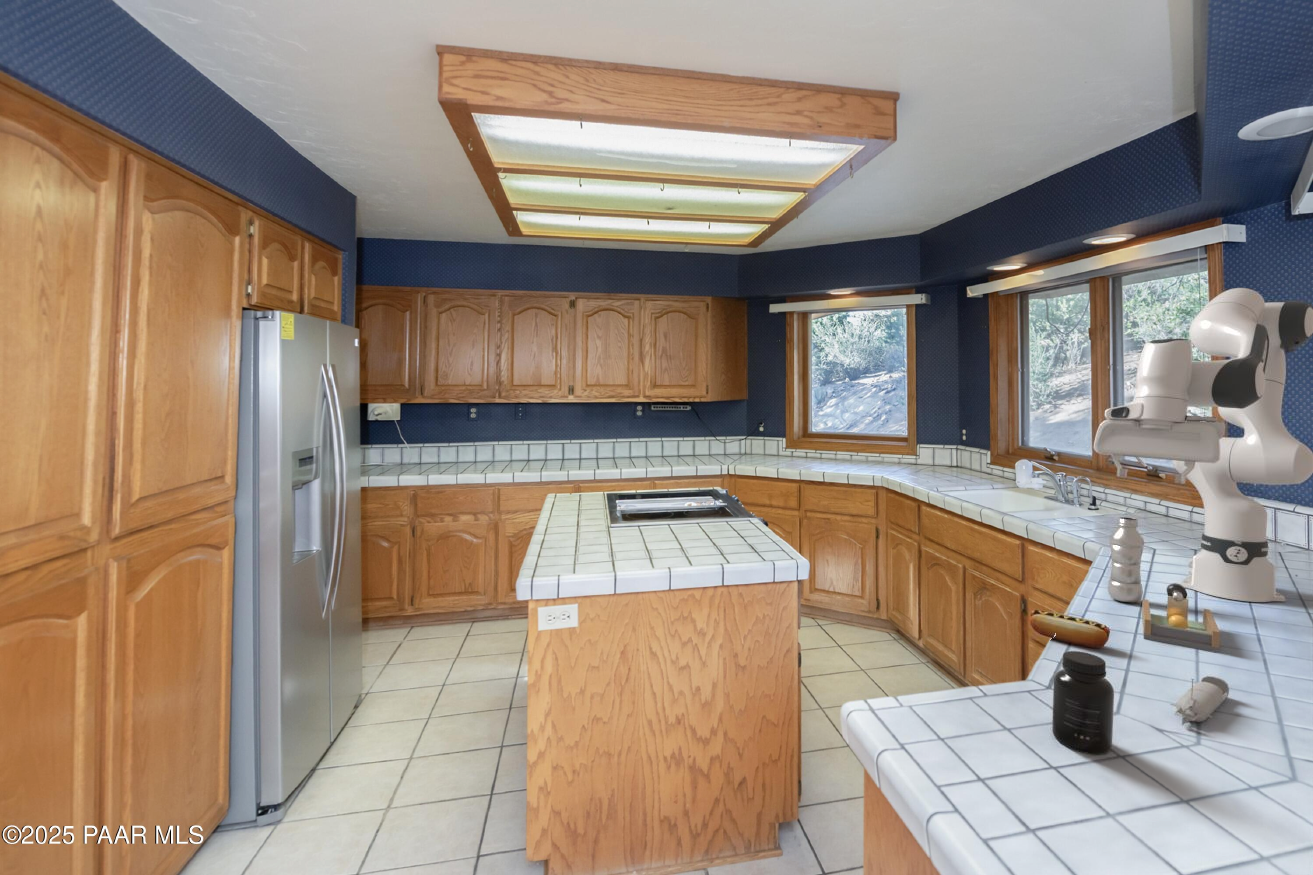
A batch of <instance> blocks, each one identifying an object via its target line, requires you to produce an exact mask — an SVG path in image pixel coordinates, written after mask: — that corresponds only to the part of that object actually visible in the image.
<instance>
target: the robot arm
mask: <svg viewBox="0 0 1313 875" xmlns="http://www.w3.org/2000/svg"><path fill="white" fill-rule="evenodd" d="M1188 334H1189V335H1188V336H1189V339H1190V340H1189V339H1187V338H1178V337H1177V338H1162V339H1153V340H1150V341H1148V342H1146V343H1144V346H1143V348H1142V351H1141V354H1140V357H1139V361H1138V365H1137V371H1136V376H1135V381H1136V386H1137V387H1136V392H1135V393H1134V396H1133V399H1132V400H1133V401H1132V403H1129V404H1125V405H1120V406H1115V407H1109V408H1106V410H1105V411H1104V417H1105V420H1103V421H1102V422H1101V423H1100V424H1099V425H1098V427H1097V430H1096V434H1095V438H1094V442H1093V449H1094V451H1095V452H1096V453H1097V454H1099V455H1106V456H1108V455H1109V456H1112V461H1113V463H1114V465H1115V467H1116V468H1117V470H1116V477H1119V478H1127V476H1128V470H1129V469H1127V468H1123V466H1122V464H1121V462H1122V461H1123V459H1124V458H1123V457H1128V458H1129V457H1130V458H1131V457H1132V458H1140V459H1141V458H1142V459H1152V460H1153V459H1154V460H1156V459H1157V460H1167V461H1171V463H1172V465H1173V467H1174V468H1175V470H1176V471H1177V472H1178V473H1175V475H1174V483H1175V484H1183V485H1184V484H1186V479H1187V480H1188V481H1190V482H1191V483H1192V485H1193V486H1194V488H1196V491H1198V493H1199V496H1200V497H1201V500H1202V504H1203V511H1204V512H1203V513H1204V526H1203V527H1204V529H1203V530H1204V531H1203V532H1204V533H1202V534H1201V538H1200V549H1201V550H1200V551H1199V552H1198V553H1196V554H1195V555H1194V556H1193V557H1192V558H1189V559H1188V568H1189V569H1190V570H1189V573H1188V575H1186V576H1185V578H1184V579H1182V581H1181V583H1180V585H1182V586H1183V587H1184V588H1185V589H1189V590H1190V589H1191V590H1193V591H1197V592H1200V593H1203V594H1206V595H1210V596H1212V597H1213V596H1214V597H1218V598H1223V599H1228V600H1234V601H1240V602H1241V601H1242V602H1250V603H1251V602H1253V603H1267V602H1286V597H1285V596H1284V595H1283V594H1281V593H1279V592H1277V590H1276V585H1277V584H1276V581H1277V580H1276V579H1277V578H1276V574H1277V573H1276V570H1277V569H1276V565H1274V564H1273V563H1272V562H1271V561H1270V560H1269V559H1268V558H1267V557H1268V554H1269V542H1268V540H1267V526H1268V525H1267V524H1268V512H1267V510H1266V508H1265V507H1264V505H1262V504H1261V503H1260V502H1258V501H1257V500H1255V499H1253V498H1251V497H1248V496H1247V495H1244V494H1243V493H1242V492H1241V491H1240V490H1239V487H1238V485H1237V483H1242V484H1243V483H1245V484H1253V485H1254V484H1255V485H1256V484H1257V485H1269V486H1282V485H1283V486H1284V485H1299V484H1302V483H1304V482H1305V481H1307V480H1308V479H1309V478H1311V476H1312V475H1313V451H1312V449H1310V448H1309V447H1308V446H1307V445H1305V444H1304V443H1302V442H1301V441H1299V439H1297V438H1295V437H1294V436H1293V435H1292V434H1291V433H1290V432H1289V431H1288V430H1287V428H1286V427H1285V424H1284V422H1283V418H1282V405H1283V397H1284V390H1285V387H1286V386H1285V385H1286V377H1287V369H1286V368H1287V365H1286V364H1287V362H1286V354H1287V355H1288V354H1291V353H1293V352H1295V350H1296V348H1298V347H1300V346H1303V345H1304V344H1305V343H1306V342H1308V341H1309V340H1310V338H1312V337H1313V305H1311V303H1308V302H1307V301H1302V300H1286V301H1285V302H1284V301H1283V302H1281V301H1279V302H1278V301H1276V302H1274V301H1272V302H1265V299H1264V297H1263V296H1262V295H1261V294H1260V293H1259V292H1258V291H1255V290H1254V289H1250V288H1246V287H1237V288H1236V287H1234V288H1230V289H1228V290H1225V291H1223V292H1221V293H1220V294H1217V296H1215V297H1214V298H1212V299H1211V300H1209V301H1208V303H1206V304H1205V305H1204V307H1203V308H1202V309H1201V310H1200V311H1199V312H1198V313H1197V315H1196V316H1195V317H1194V319H1193V320H1192V322H1191V324H1190V327H1189V330H1188ZM1193 346H1194V347H1195V348H1196V349H1198V350H1199V351H1200V352H1202V353H1204V354H1206V355H1209V356H1213V357H1227V358H1228V357H1229V358H1230V359H1222V360H1219V359H1218V360H1202V361H1201V360H1198V361H1194V360H1193ZM1285 353H1286V354H1285ZM1196 407H1197V408H1201V407H1203V408H1204V407H1205V408H1217V411H1218V415H1219V416H1220V418H1222V419H1223V420H1224V421H1226V422H1228V423H1230V424H1232V425H1235V426H1237V427H1239V428H1241V429H1243V430H1244V431H1243V432H1244V434H1243V436H1242V437H1225V434H1226V427H1227V425H1226V423H1225V422H1224V421H1223V420H1221V419H1219V418H1217V417H1216V416H1199V415H1187V414H1188V408H1196Z"/></svg>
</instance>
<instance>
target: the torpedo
mask: <svg viewBox="0 0 1313 875" xmlns="http://www.w3.org/2000/svg"><path fill="white" fill-rule="evenodd" d="M1190 679H1191V687H1190V688H1189V689H1188V690H1187V691H1186V692H1185V693H1184V694H1183V695H1181V697H1180V698H1178V700H1177V702H1176V703H1170V704H1169V705H1170V706H1174V707H1175V708H1176V710H1175V711H1174V713H1173V715H1174V716H1177V717H1180V718H1181V726H1184V725H1185V724H1188V723H1189V722H1191V723H1201V722H1204V721H1206V720H1207V719H1208V718H1211V719H1212V718H1213V716H1212V714H1213V713H1214V712H1215V711H1216V710H1217V709H1218V708H1219V707H1220V706H1221V704H1222V703H1223V702H1224V701H1225V700H1226V699H1227V698H1228V697H1229V695H1230V688H1229V685H1228V682H1226V681H1225V680H1224V679H1222V678H1220V677H1216V676H1212V675H1211V676H1209V675H1206V676H1205V677H1202V679H1201V680H1200V681H1198V682H1195V684H1194V681H1195V678H1190Z"/></svg>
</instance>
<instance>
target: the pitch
mask: <svg viewBox="0 0 1313 875" xmlns="http://www.w3.org/2000/svg"><path fill="white" fill-rule="evenodd" d="M1141 603H1142V605H1141V621H1142V622H1141V623H1142V634H1143V639H1144V640H1148V641H1153V642H1154V641H1155V642H1158V643H1164V644H1169V643H1170V644H1169V645H1175V646H1179V645H1180V647H1185V646H1186V648H1191V649H1196V650H1201V651H1206V650H1207V652H1211V651H1213V652H1212V653H1216V652H1217V653H1218V654H1219V653H1220V639H1221V638H1220V636H1221V632H1220V629H1219V627H1218V625H1217V624H1218V623H1216V620H1215V619H1214V615H1213V613H1212V611H1211V609H1210V608H1208V609H1207V608H1203V615H1202V621H1197V620H1190V619H1188V620H1187V622H1188V627H1187V628H1186V629H1181V628H1176V627H1171V626H1170V625H1169V622H1168V621H1167V615H1161V614H1154V613H1151V609H1150V608H1151V607H1150V601H1149V599H1144V598H1142V602H1141Z"/></svg>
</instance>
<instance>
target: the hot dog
mask: <svg viewBox="0 0 1313 875" xmlns="http://www.w3.org/2000/svg"><path fill="white" fill-rule="evenodd" d="M1029 624H1030V626H1031V628H1032V629H1033V630H1034V632H1035V633H1038V634H1039V635H1040V636H1044V637H1048V638H1050V639H1053V637H1054V635H1055V633H1056V636H1055V637H1054V640H1057V641H1060V642H1064V643H1070V644H1072V645H1076V646H1083V647H1089V648H1093V649H1094V648H1103V647H1104V646H1105V645H1106V644H1107V642H1108V641H1109V638H1110V633H1111V629H1110V628H1109V627H1108V626H1107V625H1105V624H1103V623H1099V622H1098V621H1094V620H1090V619H1085V618H1081V617H1077V616H1073V615H1068V614H1064V613H1059V612H1053V611H1048V610H1037V609H1034V610H1031V612H1030V618H1029Z"/></svg>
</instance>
